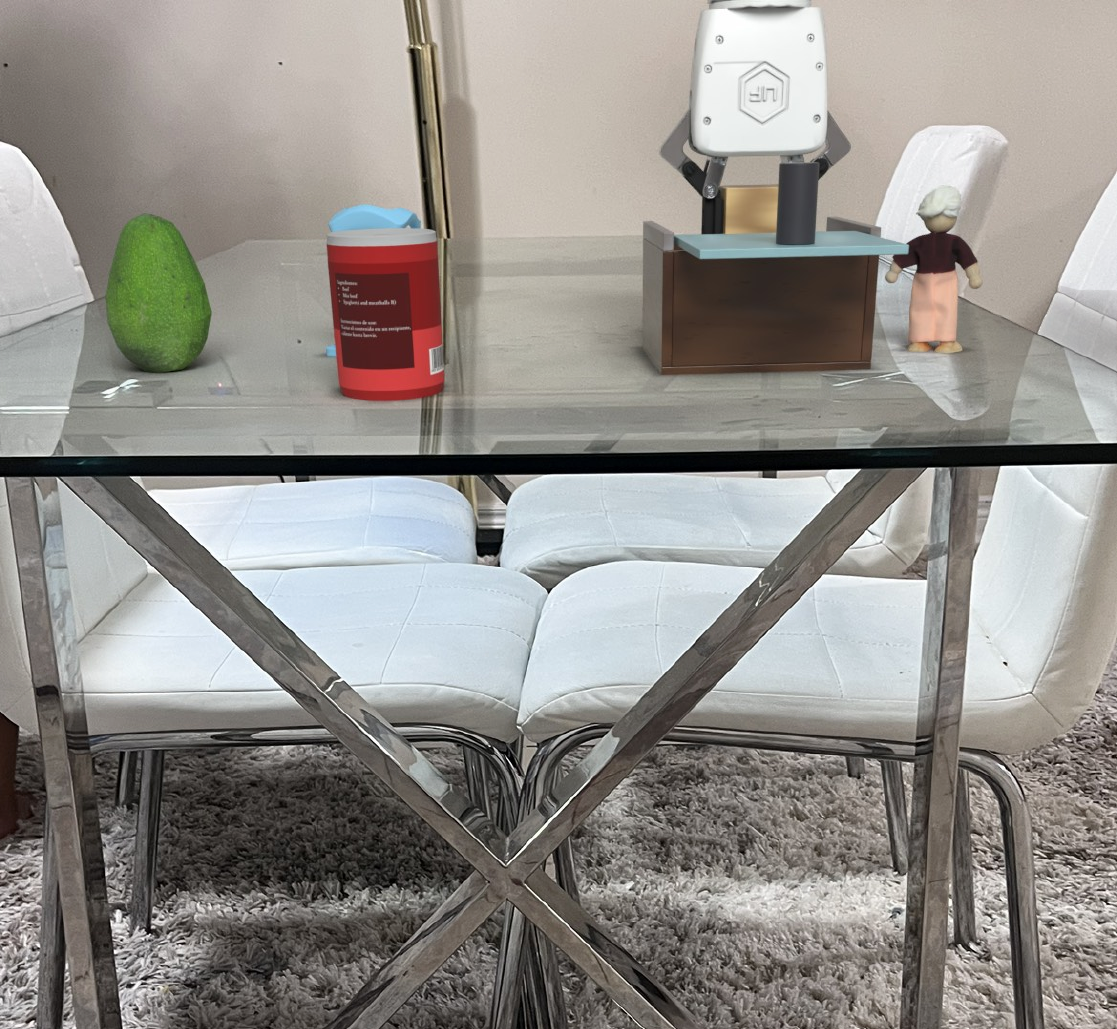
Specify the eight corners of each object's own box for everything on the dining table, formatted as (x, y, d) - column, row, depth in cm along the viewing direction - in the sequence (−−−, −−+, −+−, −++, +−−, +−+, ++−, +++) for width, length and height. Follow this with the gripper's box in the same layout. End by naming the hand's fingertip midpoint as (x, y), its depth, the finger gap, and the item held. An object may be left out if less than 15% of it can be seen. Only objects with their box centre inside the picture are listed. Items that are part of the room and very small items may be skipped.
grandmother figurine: (975, 349, 111) (993, 184, 105) (974, 356, 107) (992, 186, 102) (881, 347, 113) (893, 184, 107) (876, 354, 109) (889, 187, 104)
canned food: (423, 381, 102) (414, 226, 97) (462, 397, 95) (454, 232, 90) (325, 390, 99) (311, 231, 94) (358, 408, 92) (344, 237, 87)
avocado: (185, 382, 103) (163, 215, 98) (97, 379, 105) (71, 216, 100) (235, 366, 110) (217, 209, 105) (151, 363, 112) (129, 210, 107)
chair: (443, 346, 119) (435, 200, 114) (411, 360, 111) (401, 205, 106) (362, 344, 120) (351, 201, 115) (325, 358, 113) (311, 206, 108)
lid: (855, 239, 100) (861, 158, 98) (908, 254, 88) (916, 161, 85) (672, 243, 100) (674, 162, 98) (699, 259, 87) (701, 166, 85)
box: (828, 345, 114) (836, 216, 110) (870, 372, 102) (881, 227, 97) (642, 350, 114) (643, 221, 110) (661, 377, 101) (663, 232, 97)
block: (775, 251, 108) (778, 184, 106) (788, 256, 104) (791, 186, 102) (714, 252, 108) (716, 185, 106) (724, 257, 104) (726, 188, 102)
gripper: (650, -14, 95) (648, 258, 102) (888, -19, 95) (869, 252, 103) (640, -4, 101) (638, 250, 109) (862, -8, 102) (845, 245, 110)
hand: (750, 249), depth 106 cm, fingers closed on block, 5 cm apart
